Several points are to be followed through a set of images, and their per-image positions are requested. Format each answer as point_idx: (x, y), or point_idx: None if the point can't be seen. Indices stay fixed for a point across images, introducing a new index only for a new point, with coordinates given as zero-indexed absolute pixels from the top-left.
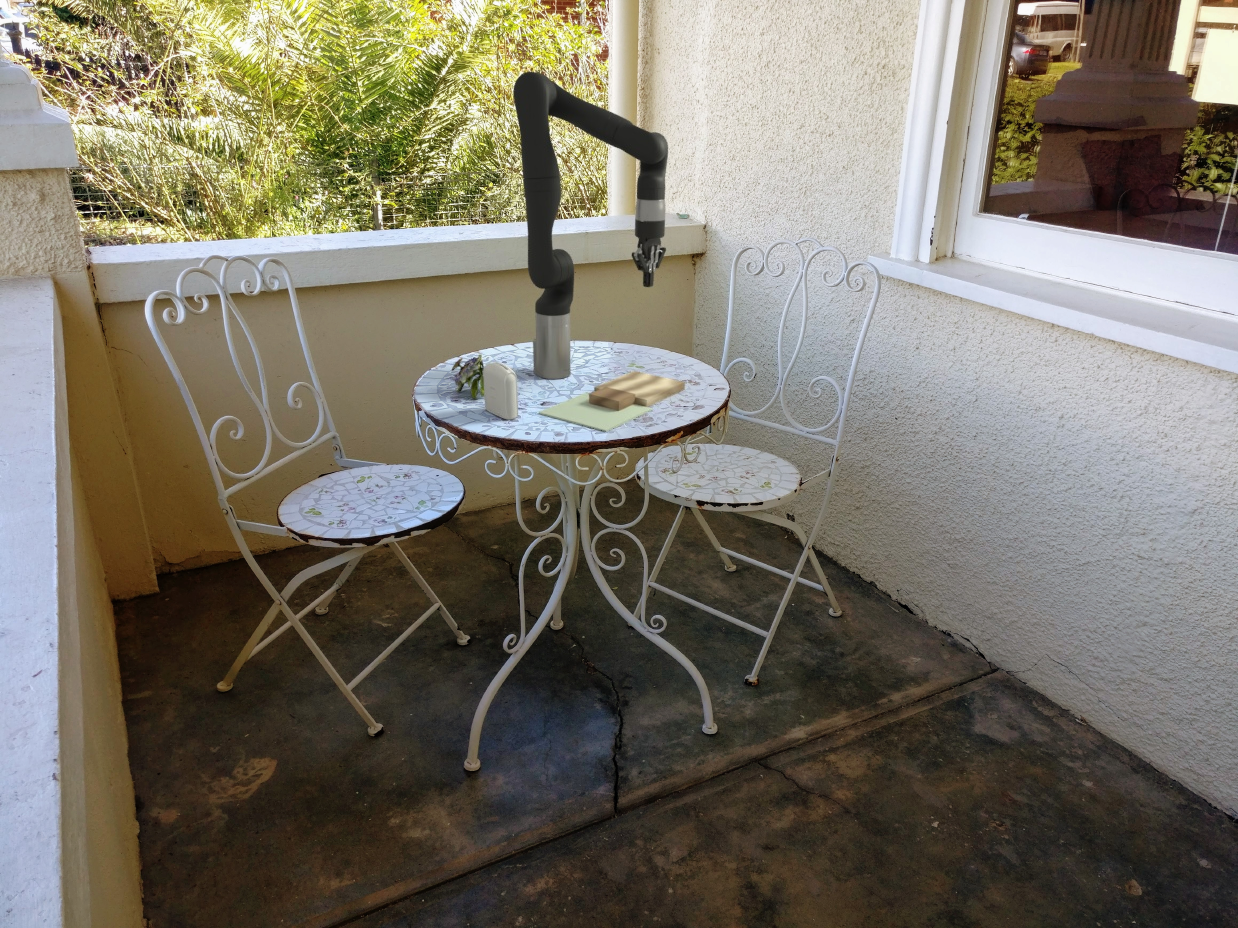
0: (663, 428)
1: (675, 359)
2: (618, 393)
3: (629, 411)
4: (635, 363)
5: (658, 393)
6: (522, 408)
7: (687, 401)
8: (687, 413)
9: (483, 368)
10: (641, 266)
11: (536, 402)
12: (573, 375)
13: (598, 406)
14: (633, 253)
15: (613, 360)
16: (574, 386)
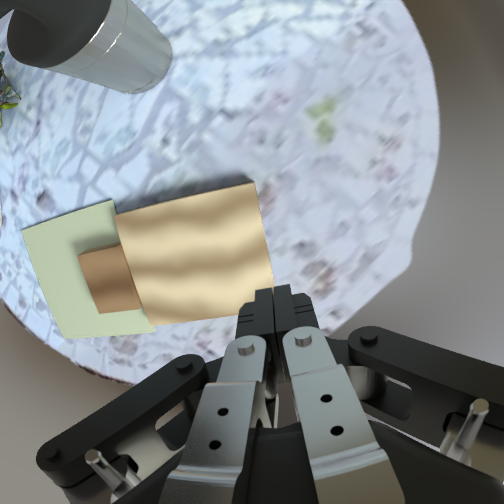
0: (129, 376)
1: (422, 151)
2: (116, 288)
3: (118, 317)
4: (338, 105)
5: (188, 318)
6: (16, 196)
7: (231, 341)
8: None
9: (3, 74)
10: (181, 401)
11: (37, 185)
12: (164, 86)
13: None
14: (46, 472)
15: (314, 56)
16: (120, 148)
